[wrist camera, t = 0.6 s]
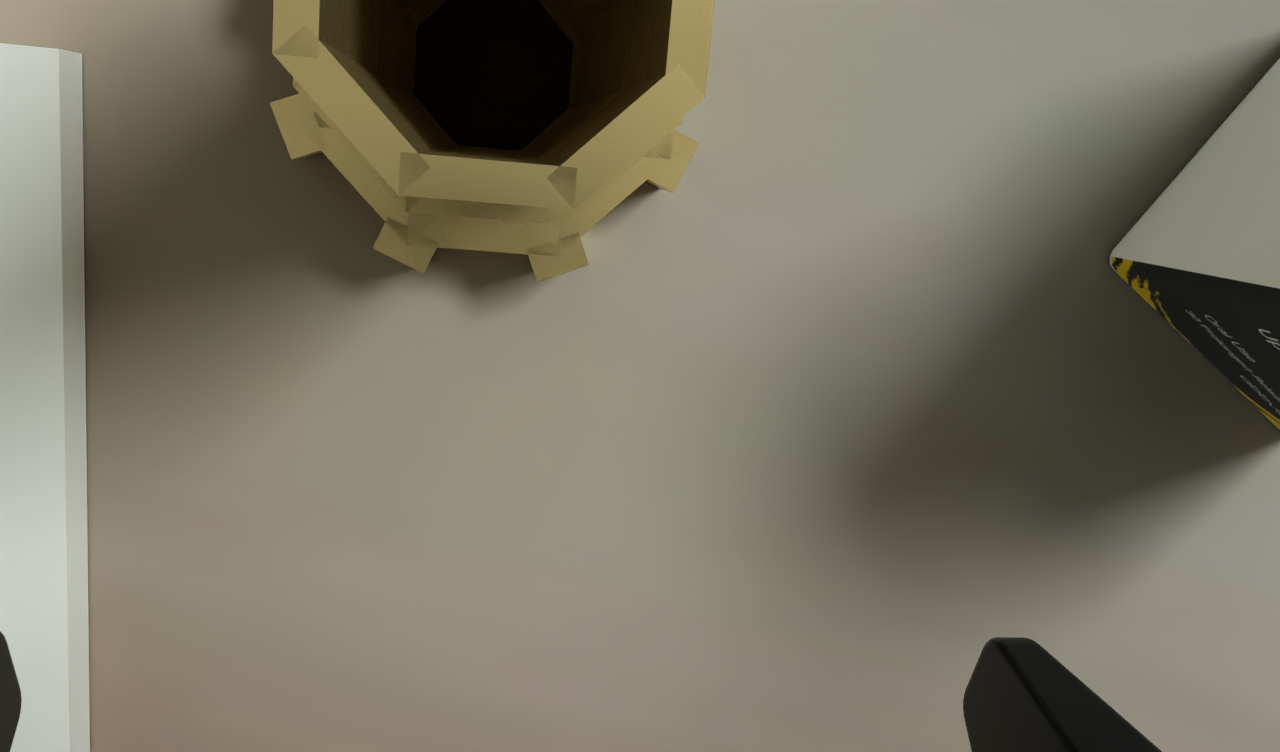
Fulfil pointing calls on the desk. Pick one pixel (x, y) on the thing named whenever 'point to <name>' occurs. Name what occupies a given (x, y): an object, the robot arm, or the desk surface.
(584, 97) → the yellow octagonal tube
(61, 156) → the gear board
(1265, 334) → the white pill bottle
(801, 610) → the desk surface
